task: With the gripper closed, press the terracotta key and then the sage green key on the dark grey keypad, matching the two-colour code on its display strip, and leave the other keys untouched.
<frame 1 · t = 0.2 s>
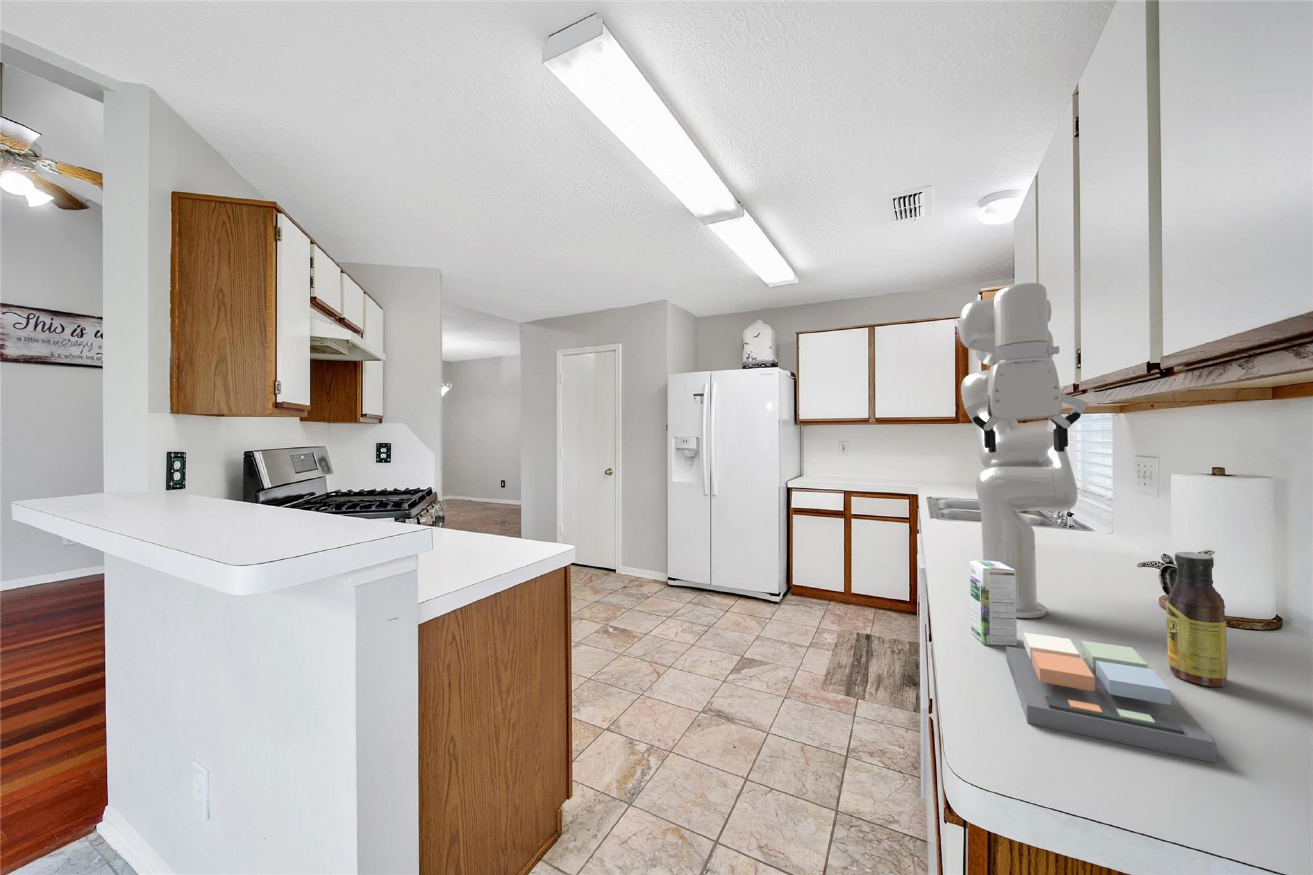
hand: (1024, 451, 85), 36 cm above the counter, tool pointing down, fingers open, 9 cm apart
sage key: (1112, 658, 73), point 5 cm above the counter, slide at 0.0 cm
sauce bottle: (1197, 680, 75), on the counter
cream key: (1050, 649, 77), point 5 cm above the counter, slide at 0.0 cm
blue key: (1131, 681, 66), point 5 cm above the counter, slide at 0.0 cm
terracotta key: (1061, 669, 70), point 5 cm above the counter, slide at 0.0 cm
keypad: (1091, 702, 70), on the counter
syrup box: (993, 640, 92), on the counter
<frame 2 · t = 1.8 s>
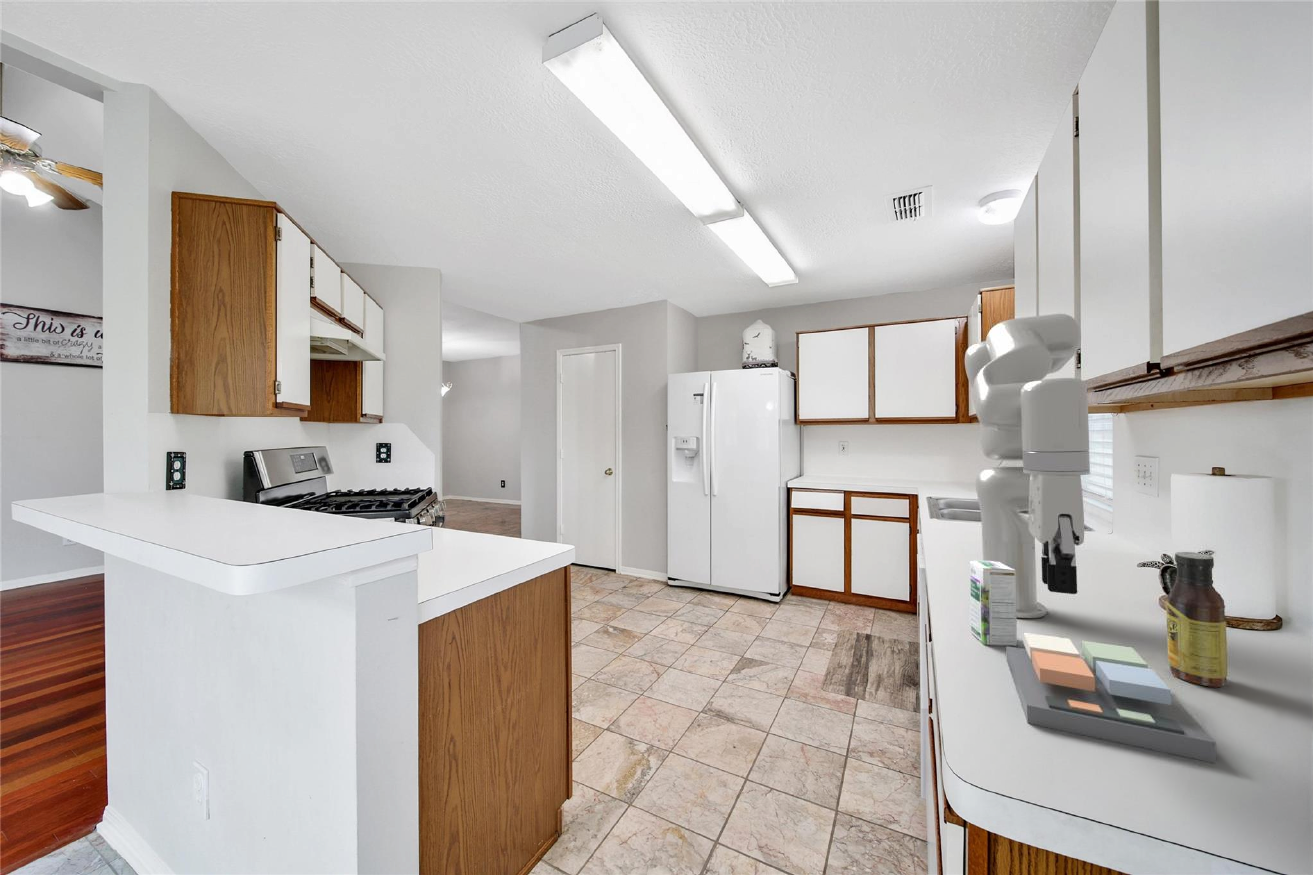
hand: (1059, 587, 70), 17 cm above the counter, tool pointing down, fingers open, 3 cm apart
nothing on the counter moved.
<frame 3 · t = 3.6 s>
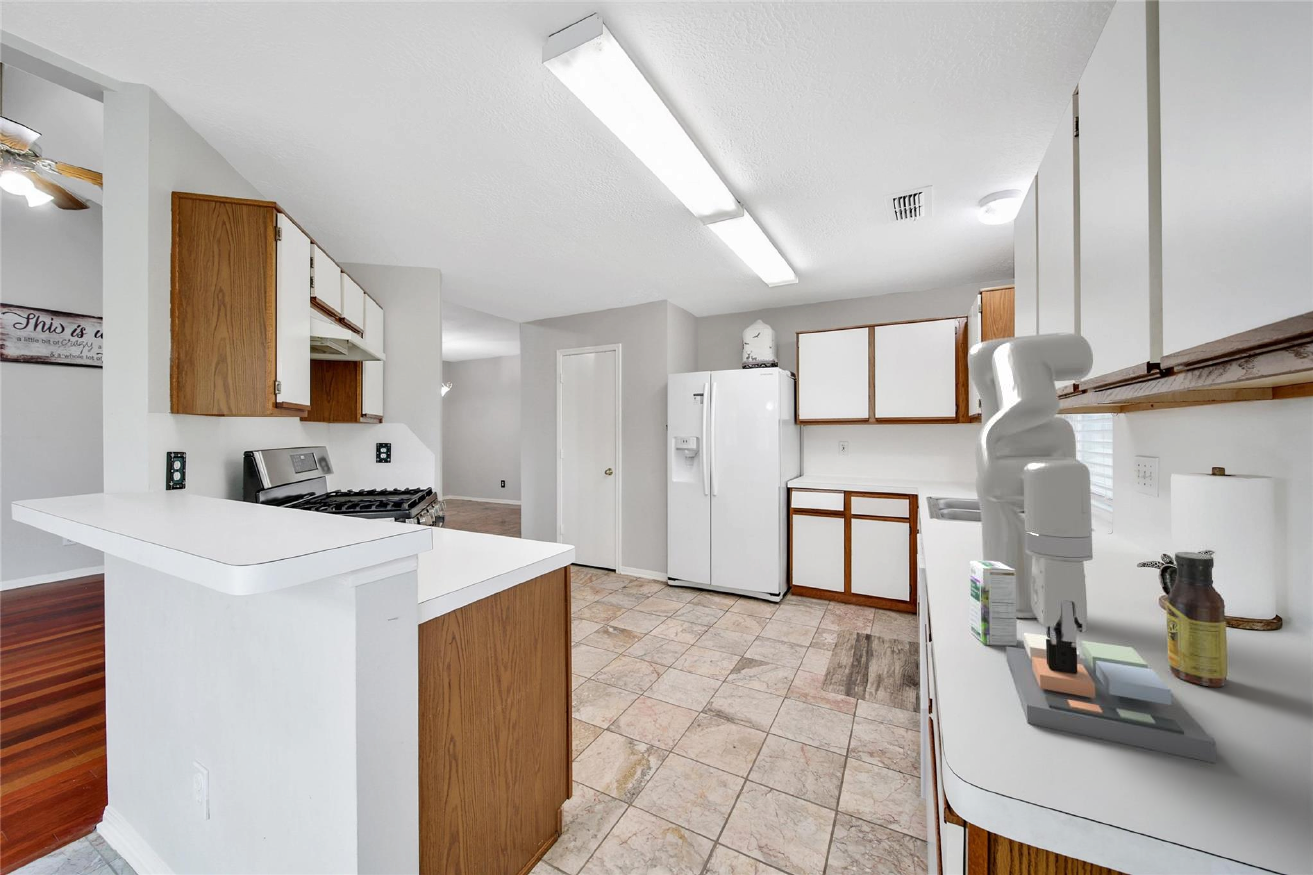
hand: (1061, 669, 70), 5 cm above the counter, tool pointing down, fingers closed
terracotta key: (1061, 676, 70), point 4 cm above the counter, slide at 0.9 cm, touching gripper
everything else where it was.
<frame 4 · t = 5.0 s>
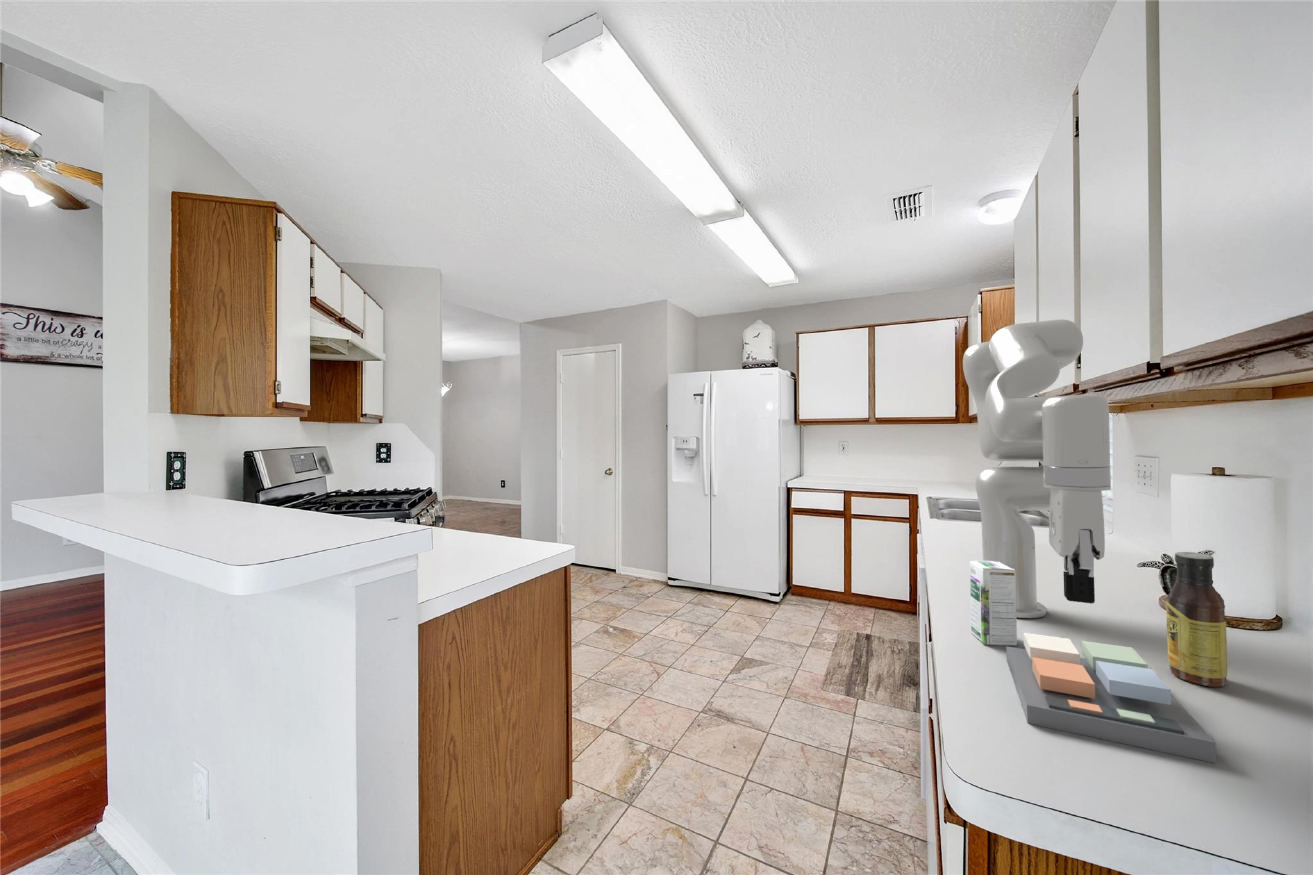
hand: (1079, 600, 71), 15 cm above the counter, tool pointing down, fingers closed
terracotta key: (1061, 676, 70), point 4 cm above the counter, slide at 1.0 cm
everything else where it was.
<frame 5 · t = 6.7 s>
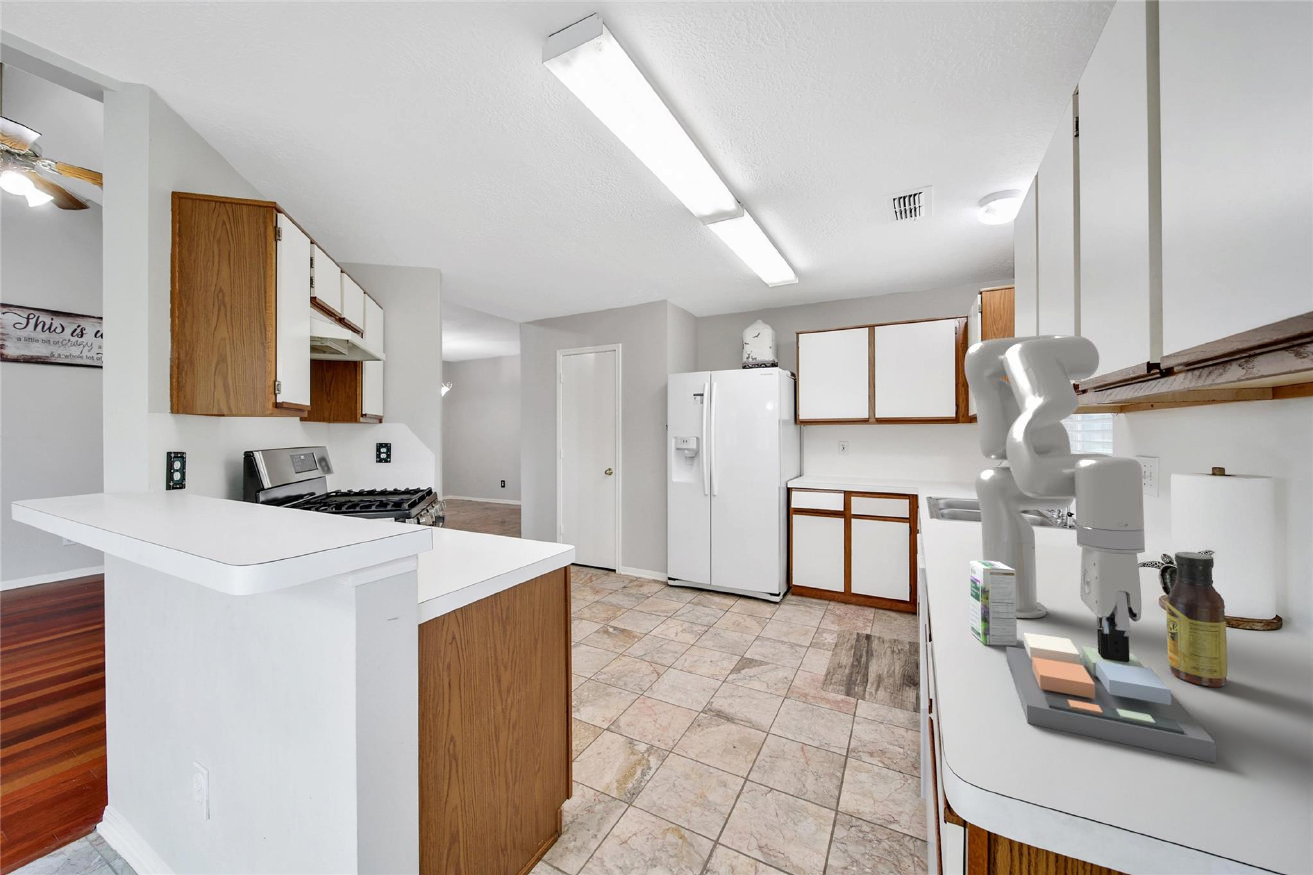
hand: (1113, 658, 73), 5 cm above the counter, tool pointing down, fingers closed
sage key: (1113, 664, 73), point 4 cm above the counter, slide at 0.9 cm, touching gripper
everything else where it was.
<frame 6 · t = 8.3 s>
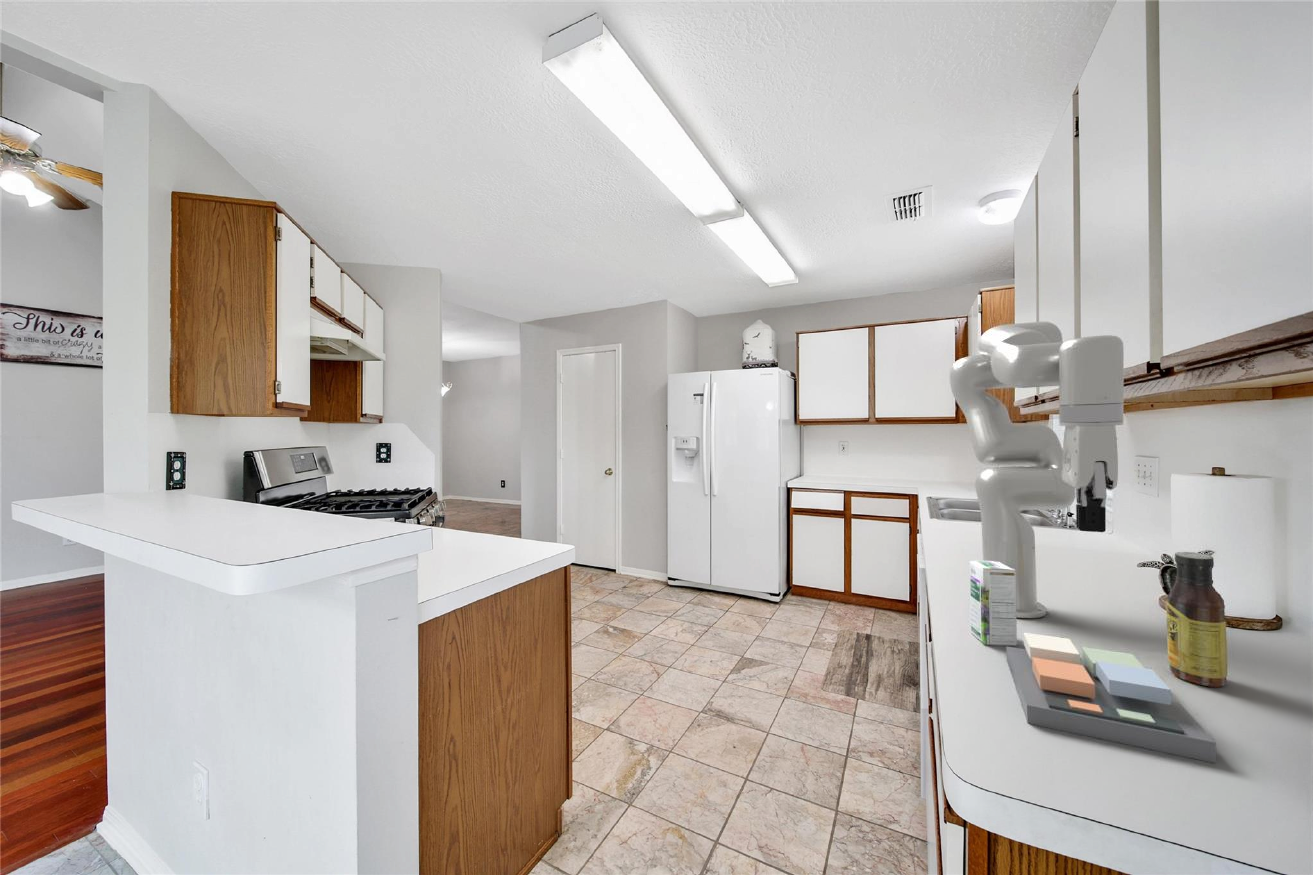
hand: (1090, 530, 76), 24 cm above the counter, tool pointing down, fingers closed
sage key: (1113, 664, 73), point 4 cm above the counter, slide at 1.0 cm
everything else where it was.
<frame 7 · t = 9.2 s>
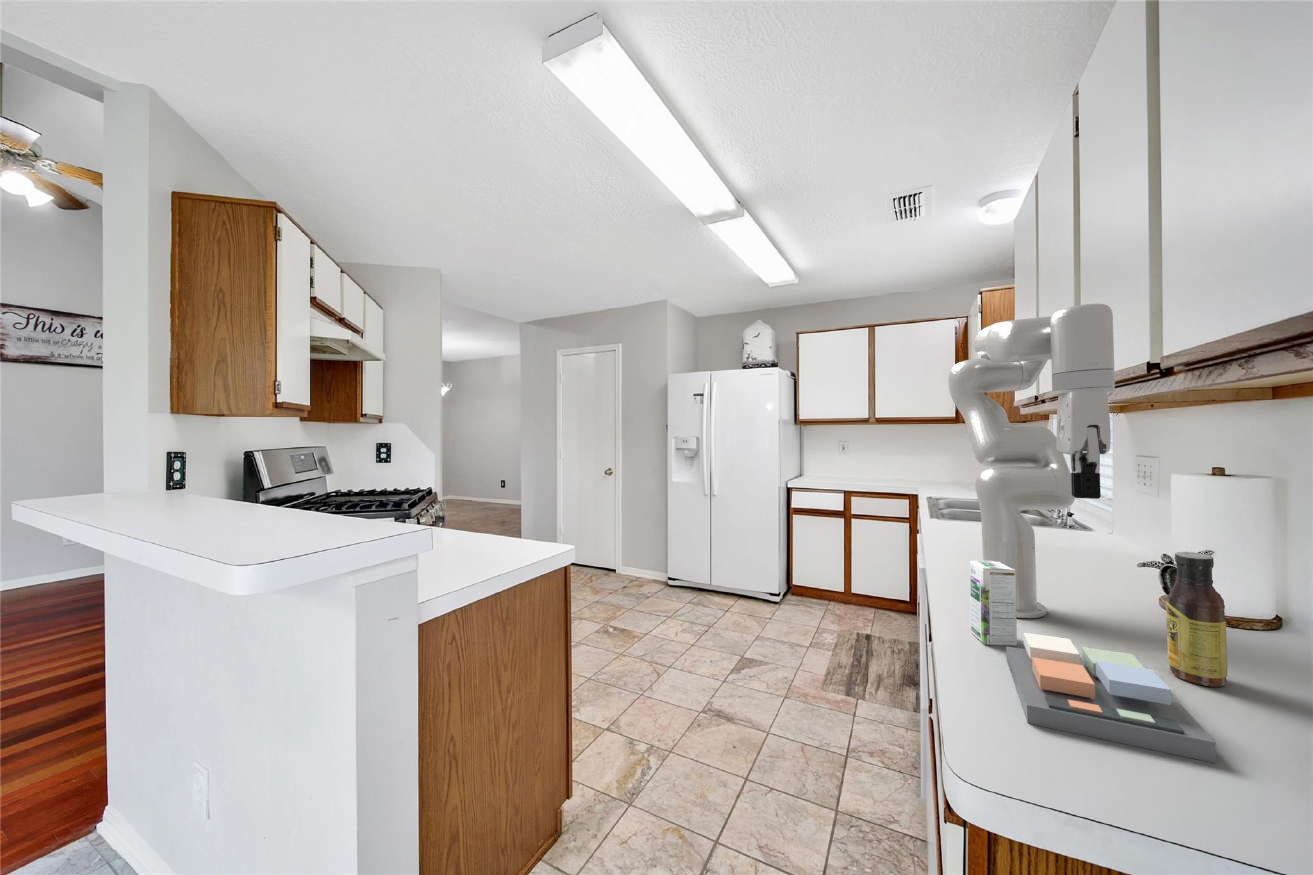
hand: (1085, 497, 77), 29 cm above the counter, tool pointing down, fingers closed
nothing on the counter moved.
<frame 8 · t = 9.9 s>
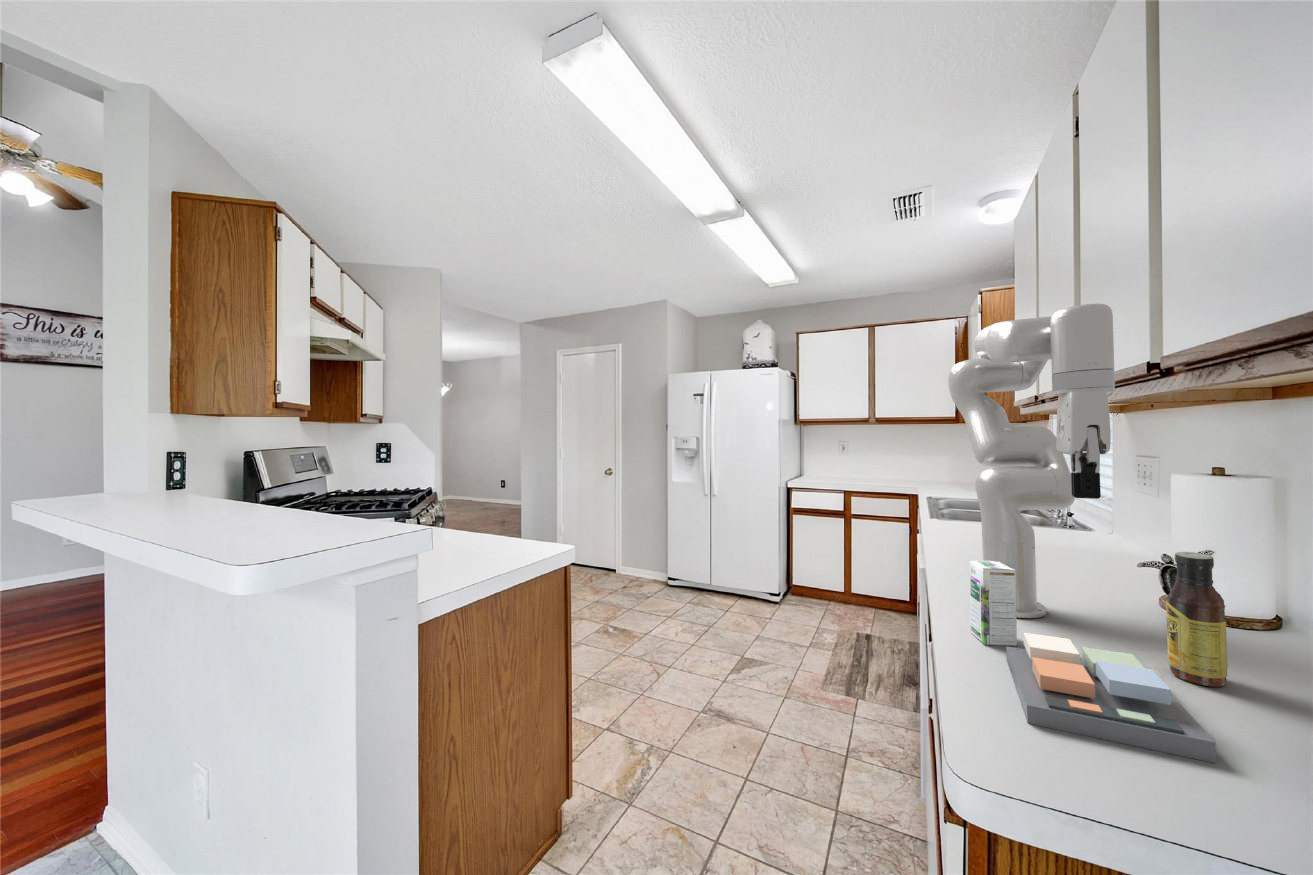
hand: (1085, 497, 77), 29 cm above the counter, tool pointing down, fingers closed
nothing on the counter moved.
at the end: terracotta key slide at 1.0 cm; sage key slide at 1.0 cm; blue key slide at 0.0 cm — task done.
